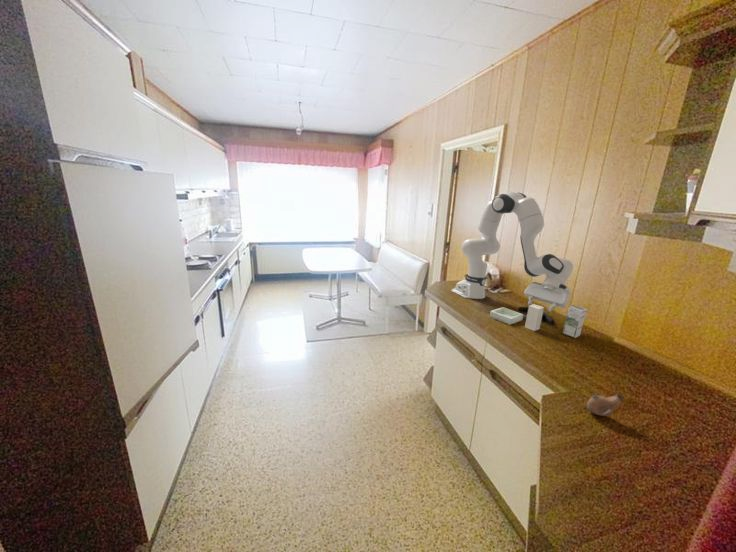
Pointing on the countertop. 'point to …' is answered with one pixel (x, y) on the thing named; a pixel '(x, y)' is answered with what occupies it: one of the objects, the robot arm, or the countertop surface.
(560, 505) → the countertop surface
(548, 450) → the countertop surface
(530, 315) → the cream block
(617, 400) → the oil lamp
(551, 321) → the toy submachine gun
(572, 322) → the syrup box
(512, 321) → the tray
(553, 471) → the countertop surface
